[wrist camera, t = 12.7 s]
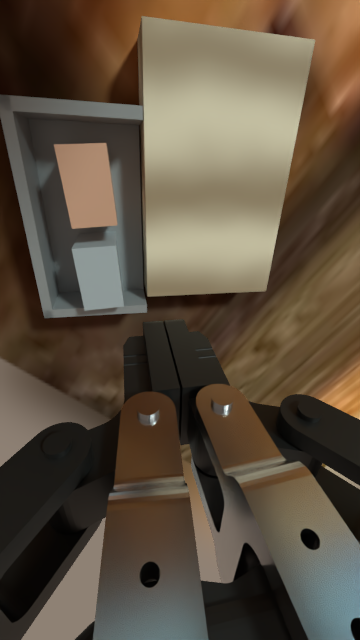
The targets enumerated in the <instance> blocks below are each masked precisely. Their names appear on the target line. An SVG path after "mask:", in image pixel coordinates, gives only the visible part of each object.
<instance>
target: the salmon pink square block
mask: <svg viewBox="0 0 360 640" xmlns="http://www.w3.org/2000/svg"><path fill="white" fill-rule="evenodd" d="M54 148H55V153H56V157H57V162H58V166H59V171H60V176H61V180H62V185H63V190H64V194H65V199H66V203H67V208H68V213H69V217H70V222H71V227H72V229H76V228H90V227H103V226H116V225H118V224H117V210H116V203H115V195H114V188H113V181H112V173H111V166H110V159H109V151H108V146H107V144H106V143H85V144H54Z"/></svg>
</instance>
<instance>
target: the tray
mask: <svg viewBox="0 0 360 640" xmlns="http://www.w3.org/2000/svg"><path fill="white" fill-rule="evenodd" d="M0 118H1V123H2V127H3V132H4V136H5V141H6V145H7V150H8V154H9V159H10V164H11V168H12V173H13V177H14V182H15V186H16V191H17V196H18V200H19V205H20V209H21V214H22V218H23V223H24V228H25V232H26V237H27V241H28V246H29V250H30V255H31V259H32V264H33V269H34V273H35V278H36V282H37V287H38V291H39V296H40V301H41V305H42V310H43V314H44V318H57V317H75V316H92V315H109V314H127V313H144V312H147V303H146V298H145V294H144V289H143V256H142V220H141V183H140V146H139V125H140V123H141V122H142V120H143V106H140V105H127V104H114V103H101V102H88V101H76V100H63V99H50V98H37V97H25V96H12V95H0ZM85 143H106V144H107V146H108V151H109V159H110V166H111V173H112V181H113V188H114V195H115V203H116V210H117V224H118V225H116V226H103V227H90V228H76V229H72V227H71V222H70V217H69V213H68V208H67V203H66V199H65V194H64V190H63V185H62V180H61V176H60V171H59V166H58V162H57V157H56V153H55V148H54V144H85ZM111 231H116V238H117V245H118V253H119V260H120V268H121V275H122V283H123V298H124V307H114V308H105V309H96V310H87V311H85V310H84V305H83V300H82V296H81V291H80V286H79V282H78V277H77V272H76V268H75V263H74V258H73V253H72V247H73V245H74V243H75V241H76V239H77V237H78V235H79V234H81V233H96V232H111Z"/></svg>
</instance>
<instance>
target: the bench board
mask: <svg viewBox="0 0 360 640" xmlns="http://www.w3.org/2000/svg"><path fill="white" fill-rule="evenodd" d="M314 43H315V40H313V39H305V38H298V37H291V36H283V35H276V34H269V33H262V32H254V31H247V30H240V29H232V28H225V27H218V26H211V25H203V24H196V23H189V22H181V21H174V20H167V19H160V18H152V17H145V16H142V18H141V23H140V29H139V34H138V76H139V105H140V106H143V120H142V122H141V123H140V152H141V190H142V229H143V267H144V284H145V288H146V292H147V297H151V296H172V295H193V294H214V293H235V292H256V291H266V288H267V283H268V278H269V273H270V268H271V262H272V257H273V252H274V247H275V242H276V237H277V232H278V227H279V222H280V217H281V211H282V206H283V201H284V196H285V191H286V186H287V181H288V176H289V171H290V166H291V160H292V155H293V150H294V145H295V140H296V135H297V130H298V125H299V120H300V115H301V110H302V104H303V99H304V94H305V89H306V84H307V79H308V74H309V69H310V64H311V59H312V53H313V48H314Z"/></svg>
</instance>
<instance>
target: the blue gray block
mask: <svg viewBox="0 0 360 640" xmlns="http://www.w3.org/2000/svg"><path fill="white" fill-rule="evenodd" d="M72 253H73V258H74V263H75V268H76V272H77V277H78V282H79V286H80V291H81V296H82V300H83V305H84V310H85V311H87V310H96V309H105V308H114V307H124V298H123V283H122V275H121V268H120V260H119V253H118V245H117V238H116V231H111V232H96V233H81V234H79V235H78V237H77V239H76V241H75V243H74V245H73V247H72Z"/></svg>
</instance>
